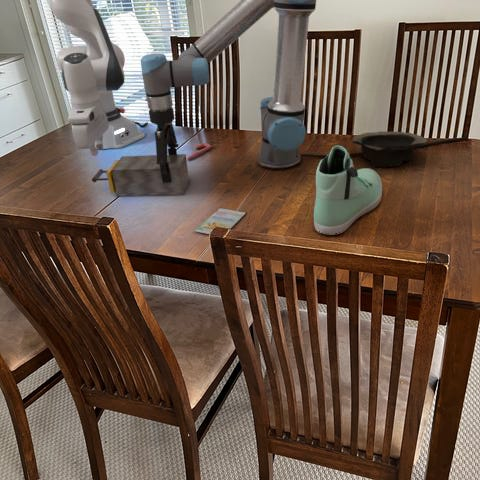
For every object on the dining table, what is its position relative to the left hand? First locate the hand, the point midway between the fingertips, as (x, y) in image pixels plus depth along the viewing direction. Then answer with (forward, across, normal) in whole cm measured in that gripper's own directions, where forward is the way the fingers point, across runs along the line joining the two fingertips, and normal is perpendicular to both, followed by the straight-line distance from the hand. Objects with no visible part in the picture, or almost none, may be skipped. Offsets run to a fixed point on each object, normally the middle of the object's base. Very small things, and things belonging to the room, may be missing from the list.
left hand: (97, 152), depth 156 cm
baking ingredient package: (+13, +25, +42) cm, 51 cm away
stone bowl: (+13, -19, +96) cm, 99 cm away
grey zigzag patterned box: (+13, 0, +16) cm, 21 cm away
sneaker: (+13, +18, +79) cm, 82 cm away
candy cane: (+13, -30, +27) cm, 42 cm away
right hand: (+8, 0, +23) cm, 25 cm away
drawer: (+12, 0, +11) cm, 16 cm away
